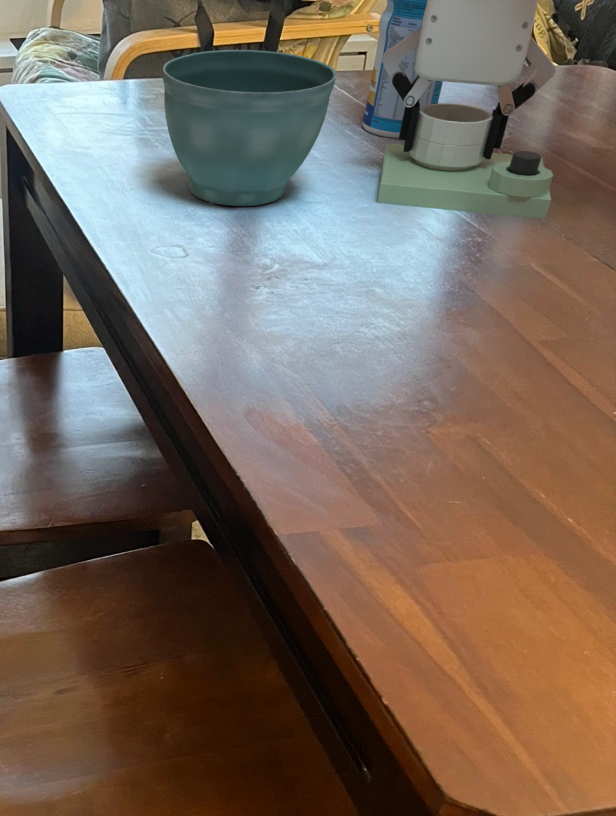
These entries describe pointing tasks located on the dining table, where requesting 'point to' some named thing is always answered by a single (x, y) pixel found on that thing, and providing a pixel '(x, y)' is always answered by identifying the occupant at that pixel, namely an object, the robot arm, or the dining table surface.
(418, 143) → the bowl
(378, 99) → the beverage bottle
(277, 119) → the flower pot
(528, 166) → the button
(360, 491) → the dining table surface
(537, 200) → the pale green flat block
